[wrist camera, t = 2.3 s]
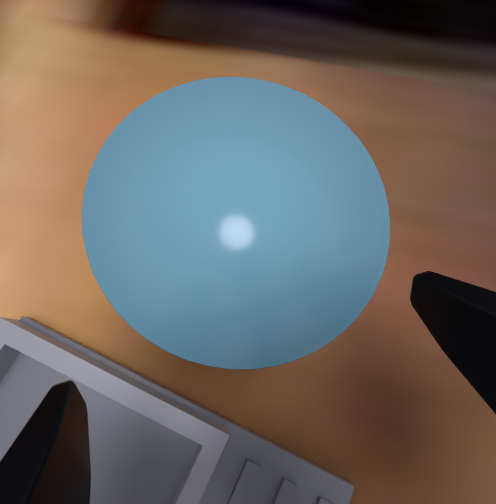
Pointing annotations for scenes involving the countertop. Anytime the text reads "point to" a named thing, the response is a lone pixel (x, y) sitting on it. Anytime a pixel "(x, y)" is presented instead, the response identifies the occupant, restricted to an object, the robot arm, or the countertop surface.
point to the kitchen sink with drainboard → (151, 432)
